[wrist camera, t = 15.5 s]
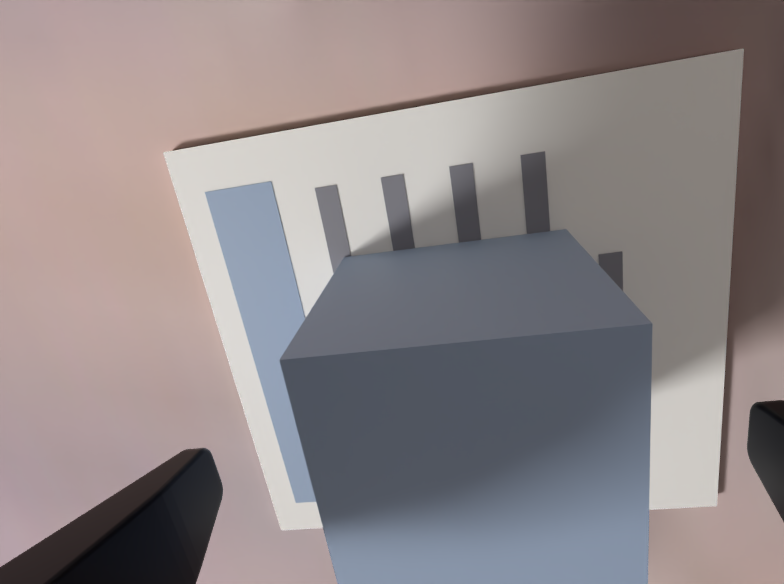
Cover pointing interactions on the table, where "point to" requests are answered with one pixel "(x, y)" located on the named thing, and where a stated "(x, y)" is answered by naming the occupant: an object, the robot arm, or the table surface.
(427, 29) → the table surface
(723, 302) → the letter
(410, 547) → the slate-blue cube
